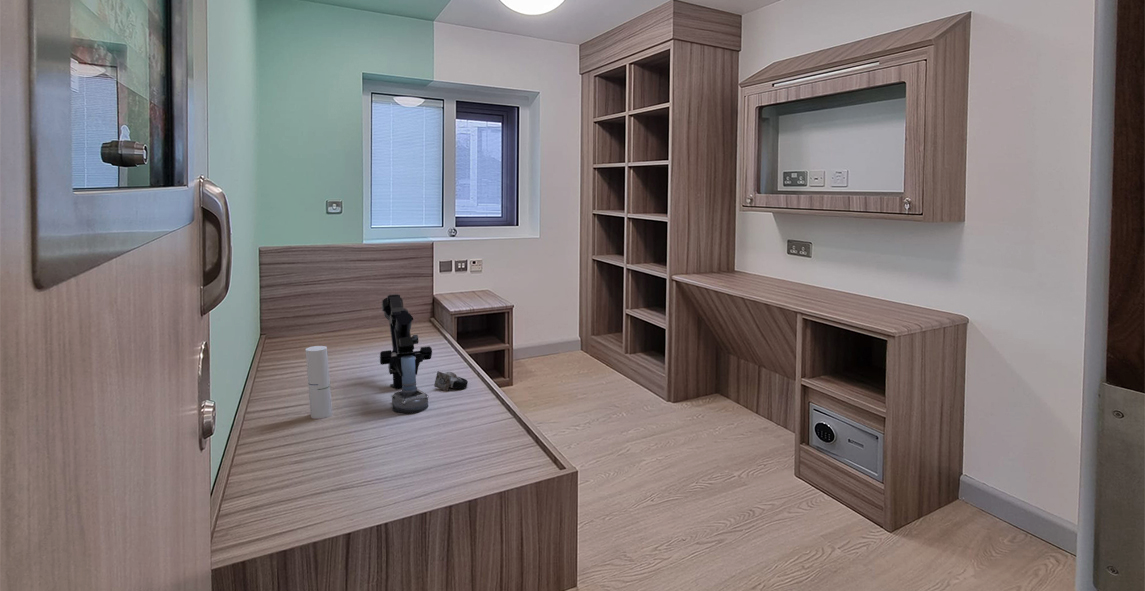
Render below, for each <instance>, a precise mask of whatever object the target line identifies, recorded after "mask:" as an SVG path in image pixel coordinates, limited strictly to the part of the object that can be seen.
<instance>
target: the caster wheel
mask: <svg viewBox="0 0 1145 591" xmlns="http://www.w3.org/2000/svg"><path fill="white" fill-rule="evenodd" d="M468 382H469V381H468V380H467V379H466V378H463V377H461V376H457V374H456V373H454V372H452V371H447V372H441V371H439V370H437V373H436V376H435V380H434V385H433V387H434V388H436V389H439V390H441V391H445V392H448V391H449V388H452V389H453V388H454V389H460V390H462V389H463V390H464V389H467V386H468Z"/></svg>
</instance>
